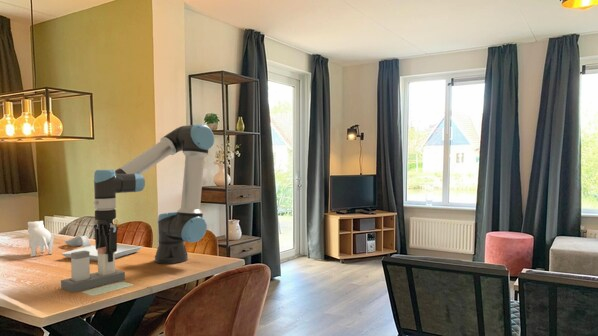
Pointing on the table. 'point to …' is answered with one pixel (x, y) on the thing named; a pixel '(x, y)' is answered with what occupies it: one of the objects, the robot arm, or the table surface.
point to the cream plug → (101, 262)
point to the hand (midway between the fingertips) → (106, 269)
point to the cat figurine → (39, 237)
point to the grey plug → (80, 266)
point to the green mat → (107, 288)
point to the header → (92, 281)
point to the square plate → (93, 253)
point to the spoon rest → (78, 241)
